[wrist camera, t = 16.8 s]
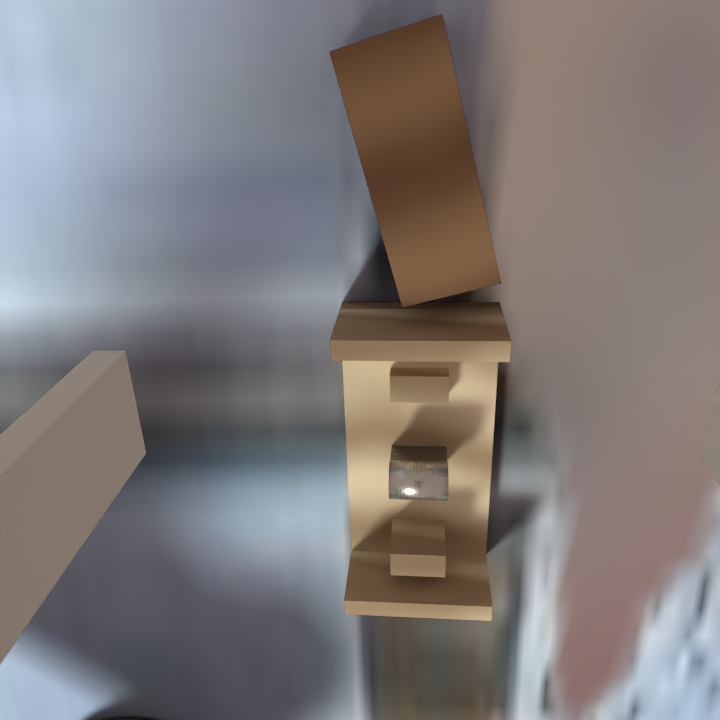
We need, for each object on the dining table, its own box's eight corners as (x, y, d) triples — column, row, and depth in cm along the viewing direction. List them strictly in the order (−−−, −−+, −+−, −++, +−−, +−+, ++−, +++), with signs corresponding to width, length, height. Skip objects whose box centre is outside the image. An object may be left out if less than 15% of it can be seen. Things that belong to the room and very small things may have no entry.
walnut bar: (492, 257, 33) (500, 283, 29) (404, 280, 34) (402, 307, 30) (440, 18, 28) (442, 14, 25) (340, 51, 29) (329, 51, 26)
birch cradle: (483, 557, 40) (491, 620, 36) (353, 552, 41) (345, 614, 37) (499, 302, 33) (511, 341, 29) (342, 301, 34) (329, 340, 30)
